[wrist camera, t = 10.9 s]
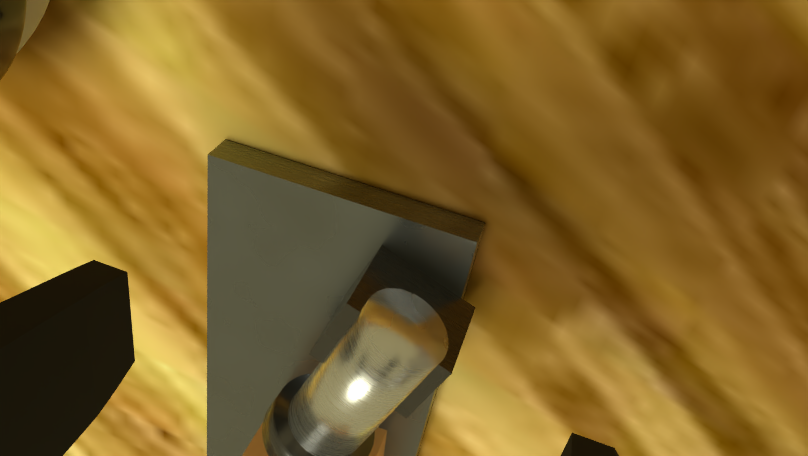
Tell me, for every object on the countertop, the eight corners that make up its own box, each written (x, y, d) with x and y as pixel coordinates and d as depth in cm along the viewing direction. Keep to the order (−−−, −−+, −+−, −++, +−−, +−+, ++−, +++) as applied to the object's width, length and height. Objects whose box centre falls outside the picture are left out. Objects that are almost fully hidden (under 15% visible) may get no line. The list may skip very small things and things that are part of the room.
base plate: (485, 222, 20) (477, 242, 19) (371, 614, 33) (364, 635, 33) (225, 139, 21) (207, 154, 20) (217, 549, 35) (206, 568, 34)
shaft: (386, 238, 20) (330, 332, 17) (480, 301, 20) (443, 407, 17) (302, 352, 23) (242, 449, 20) (383, 405, 24) (336, 510, 20)
